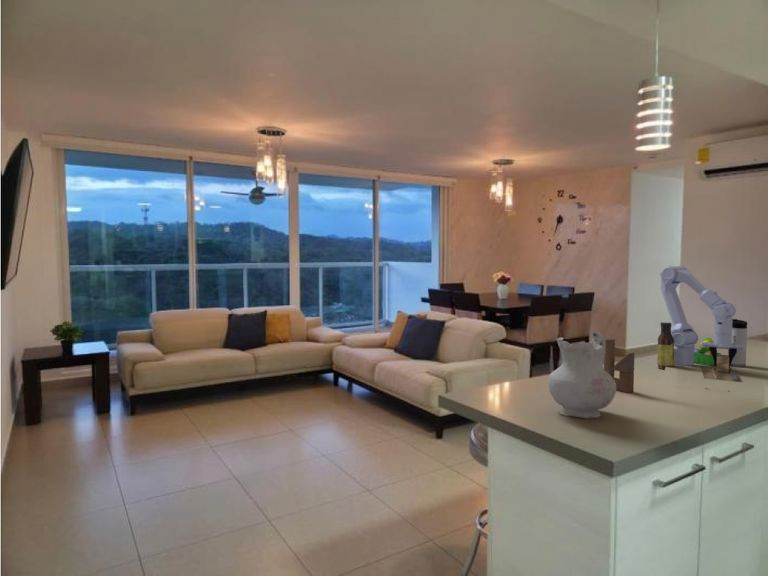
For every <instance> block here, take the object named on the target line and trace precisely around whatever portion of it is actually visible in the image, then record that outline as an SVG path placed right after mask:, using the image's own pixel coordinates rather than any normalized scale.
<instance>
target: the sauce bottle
mask: <svg viewBox="0 0 768 576" xmlns="http://www.w3.org/2000/svg"><path fill="white" fill-rule="evenodd" d="M672 327H673V324H672V322H669V321H661V322H660V334H659V335H658V338H657V368H658V369H660V370H666V367H667V368H670V367H671V368H672V367H674V366H675V364H674V346H675V344H674V339H673V336H672V332H671V330H672Z"/></svg>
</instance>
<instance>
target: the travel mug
mask: <svg viewBox="0 0 768 576" xmlns="http://www.w3.org/2000/svg"><path fill="white" fill-rule="evenodd" d="M747 340H748V322H747V321H746V320H741V319H737V318H732V344H738V345H745V351H743V350H737V353H736V355H735V356H734V358H733V360H732V362H731V366H730V367H735V366H738V368H745V367H746V366H747V342H748V341H747ZM744 366H745V367H744Z"/></svg>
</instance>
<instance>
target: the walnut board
mask: <svg viewBox="0 0 768 576" xmlns="http://www.w3.org/2000/svg"><path fill="white" fill-rule="evenodd" d="M700 369H701V372H702V375H703V379H704V380H705V379H706V380H716V381H718V380H719V381H726V382H727V381H729V382H739V383H743V380H742V378H741V376H740V375H739V373H738V371H737V369H733V368H732V366H730V368H729V372H720V371H716V370H715V369H714V367H710V366H709V367H707V366H701V368H700Z"/></svg>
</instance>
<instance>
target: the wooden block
mask: <svg viewBox="0 0 768 576" xmlns="http://www.w3.org/2000/svg"><path fill="white" fill-rule="evenodd" d="M604 341H605V355H604V363H603V368H604V370H605V371H606V372H607V373H608V374H609V375H611V377H612V378H613V379H614V381H615V383H616V391H619V392H622V391H623V393H626V392H627V393H626V394H629V392H630V393H632V391H633V392H634V388H635V387H634V385H635V384H634V383H635V381H634V380H635V352H631V353H627V354H626V355H625V356H624V357H623V358H621V359H620V360H619V361H618V362H617V363H616V361H615V360H616V359H615V358H616V356H615V355H616V339H615V338H609V337H608V338H604ZM615 363H616V364H615ZM615 371H617V372H618V373H619V374H618V375H619V378H618V377H615Z"/></svg>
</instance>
